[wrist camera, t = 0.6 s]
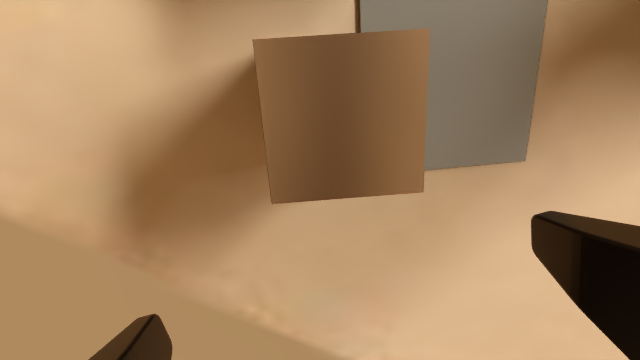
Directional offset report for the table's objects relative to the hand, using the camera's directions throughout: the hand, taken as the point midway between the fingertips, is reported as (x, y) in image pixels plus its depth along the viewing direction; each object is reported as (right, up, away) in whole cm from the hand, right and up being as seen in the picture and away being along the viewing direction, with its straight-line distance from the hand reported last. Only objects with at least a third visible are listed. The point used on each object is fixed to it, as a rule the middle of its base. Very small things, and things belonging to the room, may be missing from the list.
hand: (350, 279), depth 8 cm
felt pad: (+7, +8, +12) cm, 15 cm away
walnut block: (0, +7, +11) cm, 13 cm away
